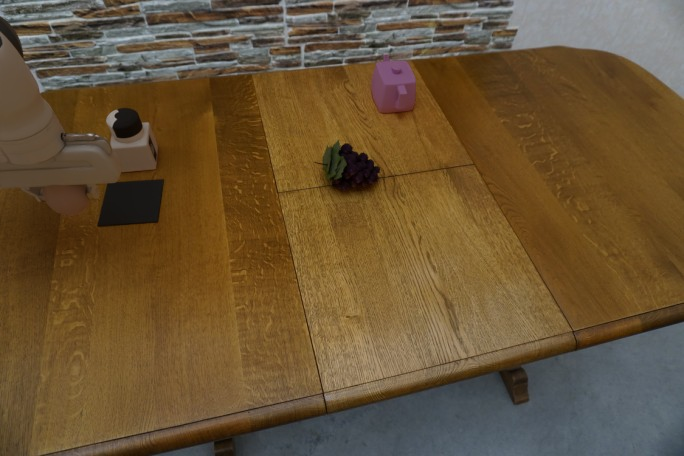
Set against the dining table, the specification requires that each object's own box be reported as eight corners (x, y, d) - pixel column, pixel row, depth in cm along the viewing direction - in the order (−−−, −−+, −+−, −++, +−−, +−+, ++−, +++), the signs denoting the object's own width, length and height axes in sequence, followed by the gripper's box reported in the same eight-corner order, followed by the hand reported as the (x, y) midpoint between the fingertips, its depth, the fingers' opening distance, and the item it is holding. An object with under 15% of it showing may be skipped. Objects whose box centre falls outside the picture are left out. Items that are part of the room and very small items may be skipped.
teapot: (365, 80, 129) (368, 46, 121) (401, 77, 130) (406, 44, 122) (380, 122, 118) (384, 89, 110) (419, 118, 120) (426, 85, 112)
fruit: (372, 202, 106) (309, 194, 102) (369, 164, 111) (309, 155, 107) (389, 178, 97) (321, 168, 93) (385, 138, 102) (320, 127, 98)
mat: (97, 226, 95) (97, 225, 95) (108, 183, 102) (107, 182, 102) (157, 222, 96) (157, 221, 96) (163, 180, 103) (163, 179, 103)
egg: (53, 226, 78) (26, 191, 71) (60, 197, 82) (35, 160, 74) (95, 222, 79) (73, 186, 72) (100, 193, 83) (79, 156, 75)
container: (158, 146, 110) (142, 102, 99) (156, 170, 105) (138, 125, 95) (124, 149, 109) (104, 104, 98) (121, 173, 104) (99, 129, 94)
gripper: (108, 118, 70) (136, 180, 81) (-38, 123, 67) (12, 186, 79) (100, 147, 66) (130, 208, 77) (-55, 153, 64) (0, 215, 75)
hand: (69, 197), depth 78 cm, fingers closed on egg, 6 cm apart
